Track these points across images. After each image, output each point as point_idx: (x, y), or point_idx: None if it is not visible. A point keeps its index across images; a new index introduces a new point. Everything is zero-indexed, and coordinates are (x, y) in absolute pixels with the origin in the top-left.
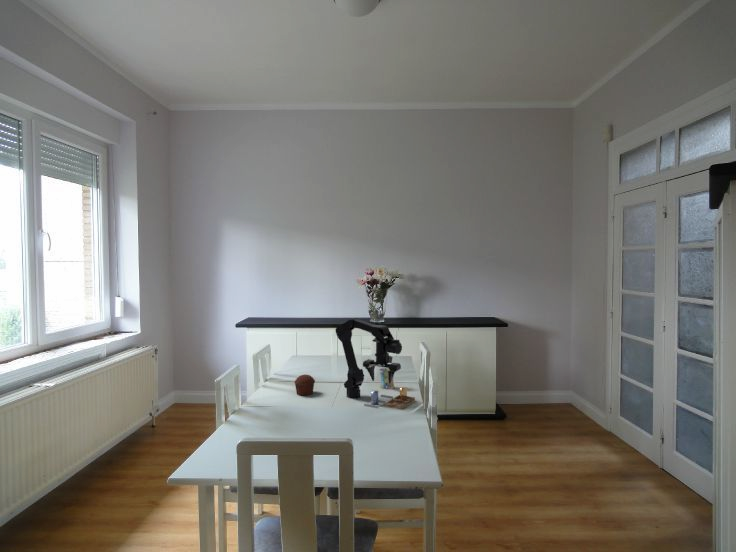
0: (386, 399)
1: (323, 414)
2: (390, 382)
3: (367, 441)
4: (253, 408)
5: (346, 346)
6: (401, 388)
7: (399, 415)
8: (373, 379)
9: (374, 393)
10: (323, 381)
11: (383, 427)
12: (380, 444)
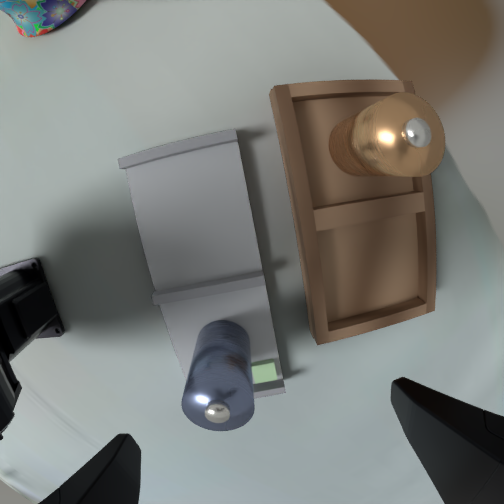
0: (213, 195)
1: (149, 494)
2: (409, 389)
3: (400, 501)
4: (20, 485)
5: None
6: (411, 166)
7: (430, 352)
8: (133, 459)
9: (239, 420)
10: None
11: (410, 455)
12: (431, 487)
